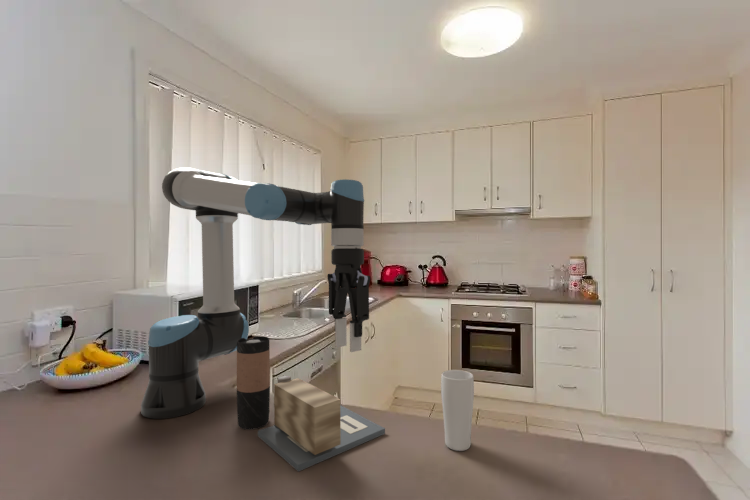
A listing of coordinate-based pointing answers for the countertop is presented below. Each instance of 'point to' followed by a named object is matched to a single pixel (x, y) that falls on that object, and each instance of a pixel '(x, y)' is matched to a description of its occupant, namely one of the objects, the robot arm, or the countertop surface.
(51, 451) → the countertop surface
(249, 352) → the travel mug
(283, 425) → the tan wooden block
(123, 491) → the countertop surface
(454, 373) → the drinking glass
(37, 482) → the countertop surface
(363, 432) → the label board
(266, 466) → the countertop surface
